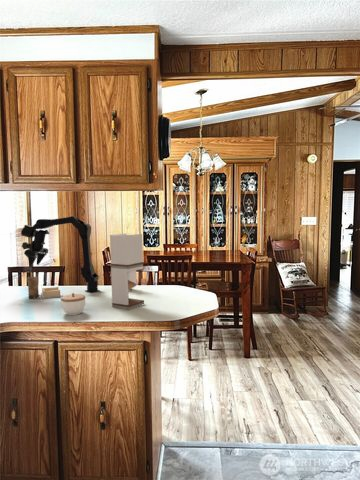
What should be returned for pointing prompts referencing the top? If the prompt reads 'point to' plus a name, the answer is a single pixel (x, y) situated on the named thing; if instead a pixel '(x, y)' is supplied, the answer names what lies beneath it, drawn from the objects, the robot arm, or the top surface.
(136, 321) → the top surface
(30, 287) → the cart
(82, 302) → the lidded jar
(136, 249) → the coffee grinder
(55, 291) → the dock
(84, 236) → the robot arm
